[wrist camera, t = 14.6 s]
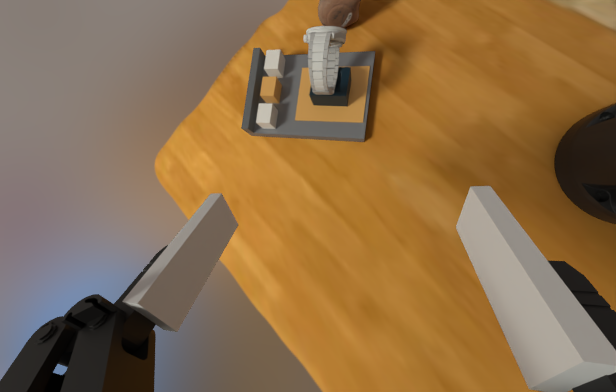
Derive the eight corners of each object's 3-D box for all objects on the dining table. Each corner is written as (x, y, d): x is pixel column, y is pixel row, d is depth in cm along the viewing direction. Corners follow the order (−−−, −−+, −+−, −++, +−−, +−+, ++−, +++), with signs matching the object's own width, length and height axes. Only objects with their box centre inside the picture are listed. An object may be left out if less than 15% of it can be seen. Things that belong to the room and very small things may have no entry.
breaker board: (374, 57, 35) (376, 38, 31) (364, 142, 35) (364, 133, 31) (262, 62, 40) (252, 45, 36) (251, 135, 39) (239, 127, 36)
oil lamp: (372, 3, 36) (374, -55, 28) (377, 24, 36) (381, -29, 28) (320, 23, 38) (309, -26, 30) (324, 43, 38) (314, -1, 30)
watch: (353, 68, 34) (349, 2, 24) (345, 117, 34) (338, 73, 23) (318, 68, 36) (300, 6, 25) (311, 115, 35) (289, 73, 25)
